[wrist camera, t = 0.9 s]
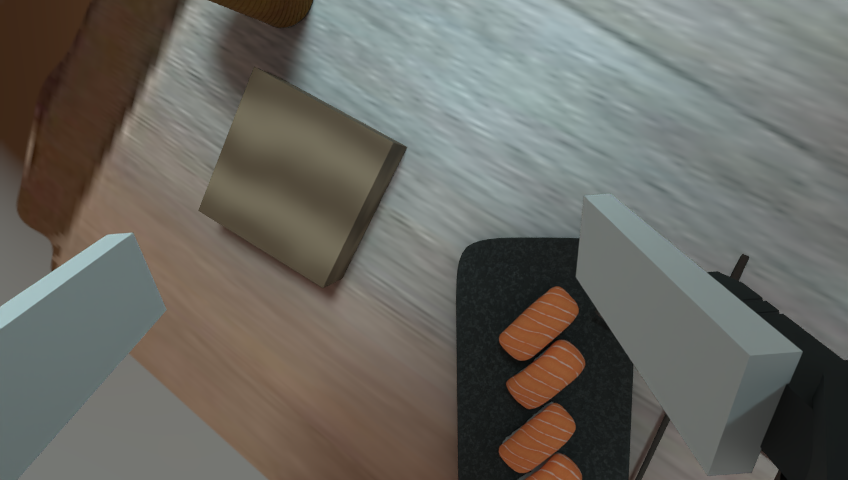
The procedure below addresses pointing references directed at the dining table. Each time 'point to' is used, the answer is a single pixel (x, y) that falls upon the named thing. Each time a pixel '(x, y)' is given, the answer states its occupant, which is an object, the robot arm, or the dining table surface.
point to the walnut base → (299, 178)
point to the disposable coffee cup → (270, 10)
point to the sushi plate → (539, 368)
